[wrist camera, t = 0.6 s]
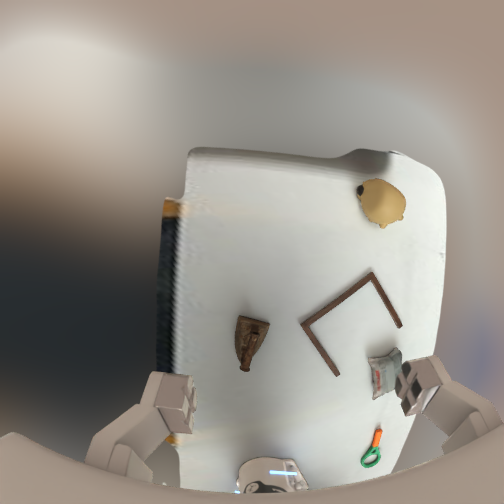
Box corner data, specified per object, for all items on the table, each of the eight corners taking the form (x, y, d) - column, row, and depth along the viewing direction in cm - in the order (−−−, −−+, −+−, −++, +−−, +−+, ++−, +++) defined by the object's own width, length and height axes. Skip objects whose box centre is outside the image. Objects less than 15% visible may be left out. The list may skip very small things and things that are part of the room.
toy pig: (382, 200, 64) (381, 163, 58) (411, 226, 55) (415, 185, 48) (350, 212, 64) (347, 174, 57) (378, 241, 55) (379, 198, 48)
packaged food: (369, 395, 59) (376, 403, 54) (365, 355, 60) (372, 362, 55) (398, 383, 59) (406, 391, 54) (395, 344, 60) (404, 349, 55)
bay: (401, 324, 60) (402, 325, 59) (335, 375, 60) (336, 377, 59) (371, 271, 60) (372, 272, 59) (299, 324, 60) (300, 325, 59)
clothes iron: (270, 319, 61) (274, 342, 51) (256, 359, 63) (258, 385, 54) (239, 312, 60) (238, 334, 51) (228, 353, 63) (225, 378, 53)
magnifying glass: (376, 463, 58) (378, 466, 57) (358, 467, 59) (360, 470, 57) (387, 426, 59) (389, 429, 57) (368, 430, 59) (370, 433, 57)
